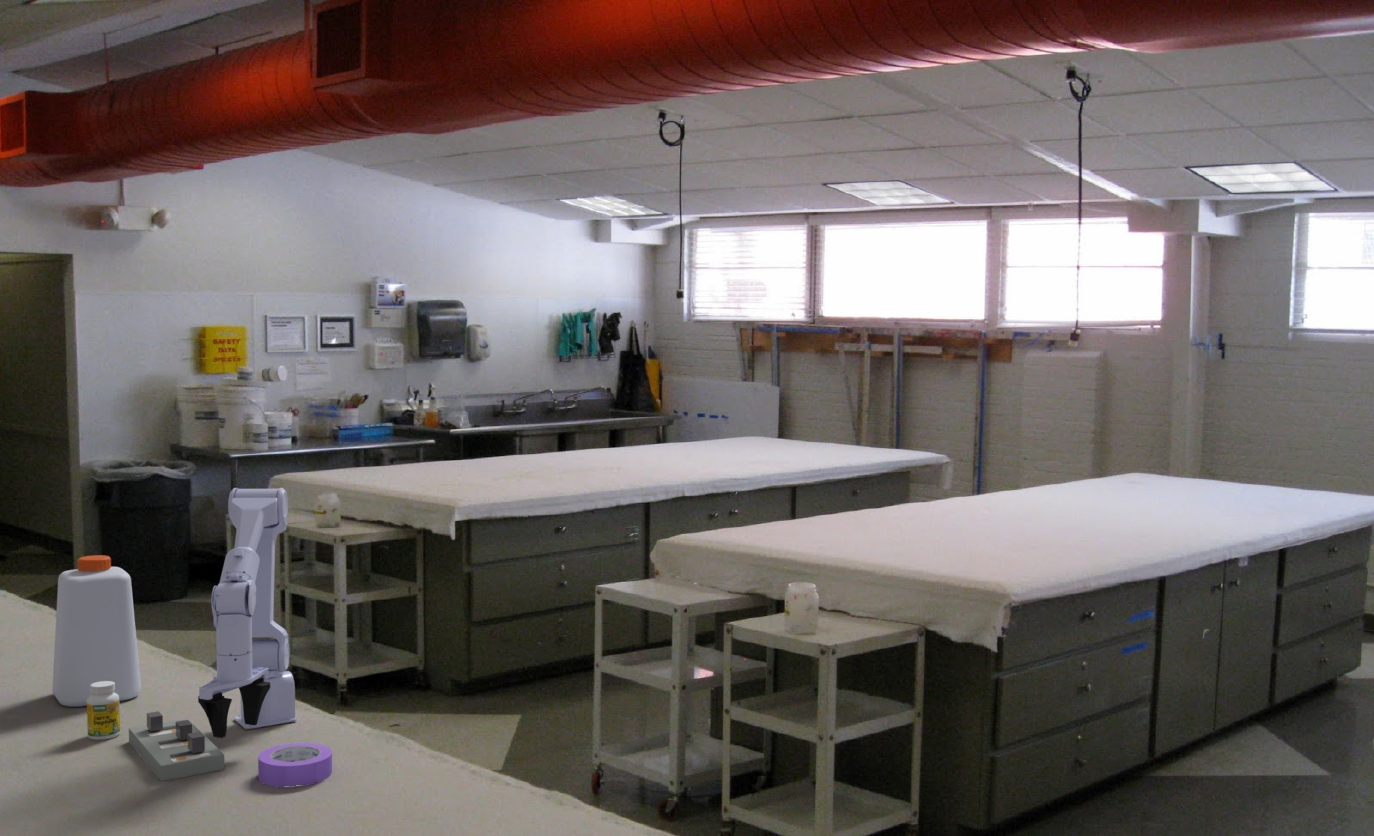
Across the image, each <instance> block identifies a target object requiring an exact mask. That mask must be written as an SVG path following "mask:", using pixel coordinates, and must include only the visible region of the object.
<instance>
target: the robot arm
mask: <svg viewBox="0 0 1374 836" xmlns="http://www.w3.org/2000/svg"><path fill="white" fill-rule="evenodd" d="M227 506H228V507H227V508H228V509H227V511H228V517H229V519H230V520H231V523H232V524H233V527H235V529H236V530H235V531H236V532H235V540H234V548H232V549H230V550H229V551H228V552H227V553H226V555H225V559H224V561H223V562H224V563H223V567H222V569H221V570H222V571H221V575H220V579H219V583H218V585H214V586H213V588H212V592H211V599H210V601H211V603H210V604H211V612H212V616H213V626H214V628H215V631H216V633H215V634H216V635H215V636H216V640H215V641H216V642H215V643H216V675H213V678H212V680H211V681H209V682H207V683H206V684H204V685H202V686H200V687H198V692H199V693H198V697H197V698H198V699H197V703H198V704H199V705H200V707H201V708H202V709H203V711H204V714H205V715H206V717H207V719H208V723H209V726H210V730H211V732H212V736H213V737H214V738H217V739H219V738H220V739H224V738H226V736H227V732H228V729H227V728H228V716H229V710H230V707H231V704H232V700H233V699H232V698H229V697H225V695H223V694H225V693H227V692H232V691H233V690H236V689H239V693H240V715H235V716H234V717H233V720H235V722H237V724H239V725H240V726H241V727H243V728H244V729H245V730H250V729H257V728H263V727H268V726H274V725H280V724H287V723H292V722H293V723H294V722H296V721H297V718H296V687H295V680H294V679H295V678H294V676H293V673H292V672H291V671H289V670H287V669H288V668H289V665H290V644H289V643H290V642H289V633H288V631H287V630H286V629H285V628H284V627H283V626H281V625H279V624H278V623H277V622H276V621H274V611H275V610H274V607H275V606H274V602H275V600H274V599H275V567H276V565H275V563H276V558H275V557H276V542H277V538H278V535H279V534H281V533H283V532H286V531H287V526H288V521H289V520H288V514H289V510H288V509H289V498H288V493H287V491H286V490H285V488H284V487H279V488H238V487H234V488H232V489H231V491H230V492H229V496H228V503H227ZM253 638H274V639H253Z"/></svg>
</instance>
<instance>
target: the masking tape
mask: <svg viewBox="0 0 1374 836" xmlns="http://www.w3.org/2000/svg"><path fill="white" fill-rule="evenodd" d="M257 759H258V765H257V767H258V769H257V770H258V774H257V775H258V776H257V777H258V778H257V779H258V781H259V782H260V783H261V782H262V783H261V784H263V783H264V784H263V785H265V784H266V786H268V785H271V786H270V787H273V786H278V787H277V788H285V787H284V786H296V785H305V786H309V784H310V785H314V784H316V783H315V782H317V783H319V782H318V781H320V782H322V781H324V780H323V779H325V780H327V779H328V778H329V777H330V776H332V774H331V773H333V750H332V749H331V748H330V747H329V746H327V745H324V744H321V743H315V742H291V743H284V744H277V745H275V746H272V747H269V748H267V749H264V750H263V751H261V752H260V753H259V755H258V757H257ZM321 780H322V781H321ZM313 783H314V784H313ZM307 784H308V785H307Z"/></svg>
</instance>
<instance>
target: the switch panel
mask: <svg viewBox="0 0 1374 836" xmlns="http://www.w3.org/2000/svg"><path fill="white" fill-rule="evenodd" d="M183 720H188V721H189V722H190V723H191V724H192V733H195V732H201V733H202V731H201V730H200V729H198V727H197V726H196V725H194V723H192V721H190V719H188V718H183V719H175V720H170V721H163V729H162V730H156V731H150V730H149V729H148V728H147V724H145V725H138V726H133V727H128V743H130V745H131V746H132V747H133V749H134V750H135V751H136V752H137V753H138V754H139V756H140V757H141V758H142V759H143V761H144V762H145V763H146V764H147V765H148V766H149V768H150V770H152V771H153V773H154V774H155V775H156V776H157V777H158V779H159V781H161V782H165V781H169V780H173V779H180V778H186V777H191V776H196V775H200V774H201V775H202V774H207V773H212V772H218V771H224V770H225V769H226V768H225V753H223V752H222V751H221V749H219V748H218V747H217V745H215V744H214V743H213V742H212V741H211V740H210V739H209V738H208V737H207V736H206V735H205V734H204V733H202V734H203V735H204V736H205V751H202V752H196V753H192V752H191V751H190V750H189V749H188V739H186V740H179V739H178V738H177V737H176V722H177V721H183Z"/></svg>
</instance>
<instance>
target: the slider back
mask: <svg viewBox="0 0 1374 836" xmlns="http://www.w3.org/2000/svg"><path fill="white" fill-rule="evenodd" d="M163 717H164V716H163V714H162V713H161V711H159V710H158V711H151V712H146V725H147V728H148V729H149V730H150V731H156V730H162V729H163V722H164V721H163V720H164V719H163Z"/></svg>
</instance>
